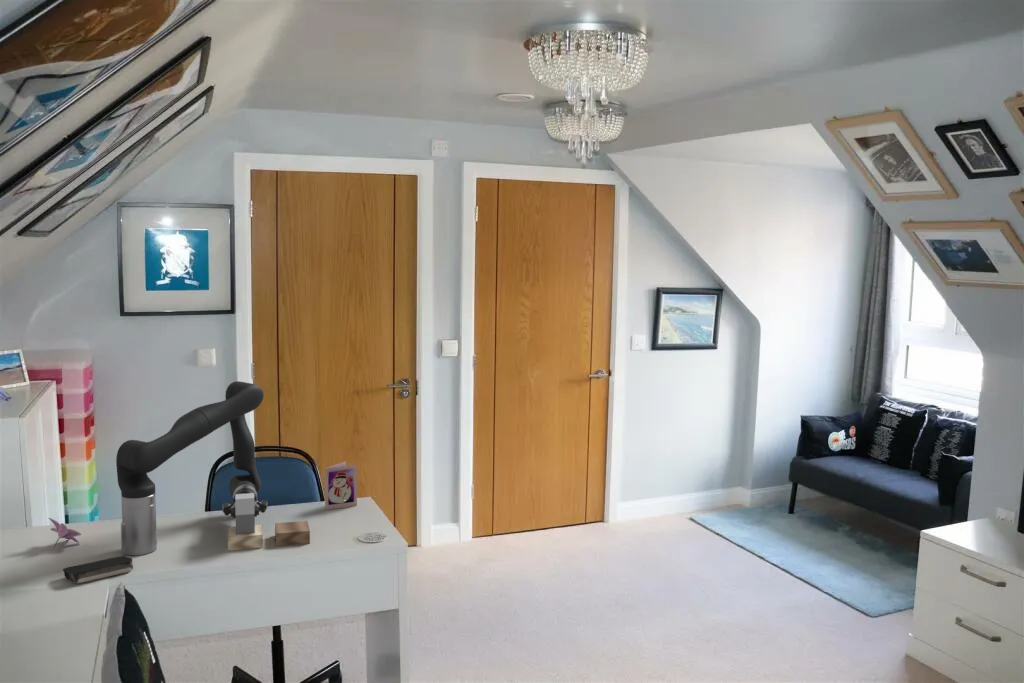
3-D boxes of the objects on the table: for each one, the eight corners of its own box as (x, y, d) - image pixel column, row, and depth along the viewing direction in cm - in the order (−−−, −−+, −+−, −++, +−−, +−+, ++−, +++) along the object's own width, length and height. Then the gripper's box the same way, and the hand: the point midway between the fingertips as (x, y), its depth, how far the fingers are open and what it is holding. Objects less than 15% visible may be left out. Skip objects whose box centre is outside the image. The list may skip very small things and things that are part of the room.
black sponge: (71, 588, 213) (70, 575, 213) (62, 578, 219) (62, 565, 219) (135, 573, 224) (135, 560, 224) (125, 564, 230) (125, 552, 230)
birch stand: (227, 550, 242) (227, 537, 242) (228, 539, 251) (228, 527, 251) (262, 547, 245) (262, 534, 245) (262, 536, 255) (261, 524, 254)
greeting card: (325, 510, 283) (325, 468, 281) (320, 504, 289) (320, 463, 288) (357, 506, 288) (357, 465, 287) (351, 500, 295) (351, 460, 293)
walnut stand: (276, 546, 246) (276, 533, 246) (275, 535, 256) (275, 523, 256) (309, 543, 250) (309, 530, 249) (307, 532, 259) (307, 520, 259)
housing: (235, 534, 244) (235, 499, 243) (235, 528, 250) (235, 494, 249) (254, 533, 246) (254, 498, 245) (254, 527, 251) (254, 493, 250)
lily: (81, 553, 240) (91, 524, 243) (43, 546, 233) (53, 516, 237) (71, 555, 248) (80, 526, 251) (33, 548, 241) (43, 518, 245)
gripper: (221, 488, 258) (219, 504, 242) (268, 485, 263) (269, 500, 247) (221, 511, 259) (220, 528, 243) (268, 508, 264) (269, 524, 248)
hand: (245, 514), depth 245 cm, fingers closed on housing, 5 cm apart
